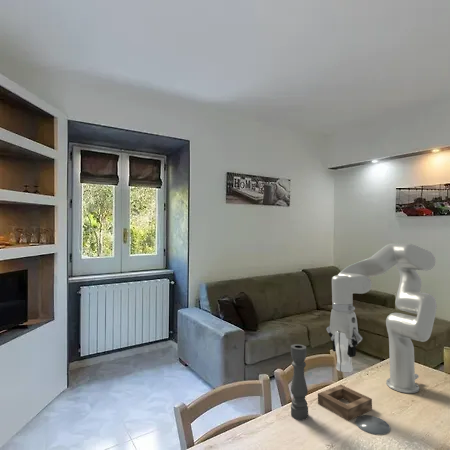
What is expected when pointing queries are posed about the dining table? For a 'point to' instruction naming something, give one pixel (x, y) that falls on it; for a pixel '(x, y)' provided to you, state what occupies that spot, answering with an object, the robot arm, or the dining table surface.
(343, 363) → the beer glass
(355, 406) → the frame
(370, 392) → the dining table surface
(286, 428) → the dining table surface
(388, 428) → the coaster
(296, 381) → the candle holder
